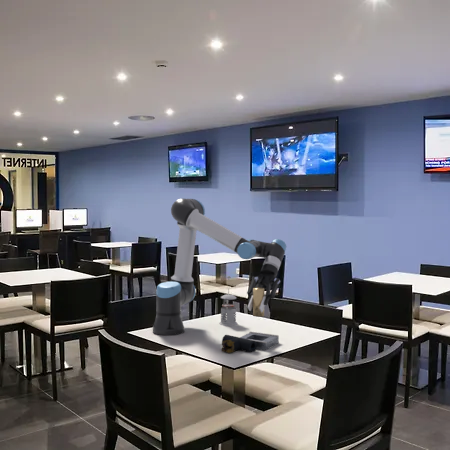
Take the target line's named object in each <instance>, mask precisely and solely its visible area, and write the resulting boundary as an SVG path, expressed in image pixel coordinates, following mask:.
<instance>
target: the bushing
mask: <svg viewBox="0 0 450 450" xmlns="http://www.w3.org/2000/svg"><path fill="white" fill-rule="evenodd" d="M264 296H265V287H261V288H255V287H254V288H253V306H252V316H253V317H256V318H257V317H258V318H261V317H265V309H264V310H263V312H261V311H260V309H259V308H260V305H261V302H262V300H263V297H264Z"/></svg>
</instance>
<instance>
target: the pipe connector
mask: <svg viewBox="0 0 450 450" xmlns="http://www.w3.org/2000/svg"><path fill="white" fill-rule="evenodd" d="M240 337H241V336H240ZM240 337H239V336H234V335H229V334H224V335H223V337H222V339H221V345H222V348H221V352H224V353H228V354H230V353H234V352H236V351H244V352H248V353H254V352H256V350H257V349H256V348H257V343H256V341H253V340H249V339H244V338H240Z"/></svg>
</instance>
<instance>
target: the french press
mask: <svg viewBox="0 0 450 450" xmlns="http://www.w3.org/2000/svg"><path fill="white" fill-rule="evenodd" d="M226 278H227V279H231V275H227V277H226ZM227 292H228V294H227V293H226V294H224V295H221V296H220V299H222V300H223V302H226V303H223V304H222V305H221V306H222V307H221V308H220V315H221V316H220V322H218V324H219V325H220V326H225V327H226V326H227V327H230V326H231V327H232V326H238V322H237V319H236V318H237V307H236V304H234V303H229V302H230V301H231V300H232V301H233V300H237V297H236V296H235V295H234V294H230V290H228V291H227Z"/></svg>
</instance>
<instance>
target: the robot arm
mask: <svg viewBox="0 0 450 450" xmlns="http://www.w3.org/2000/svg"><path fill="white" fill-rule="evenodd" d="M170 212H171V216H172V217H173V219H174V221H176V224H177V227H178V228H179V229H178V230H179V232H178V239H177V250H176V258H175V266H174V267H175V268H174V274H173V275H172V276H170V281H165V282H161V283H159V284H158V285H157V286H156V291H155V292H156V293H155V294H156V316H155V320H154V322H153V326H152V333H153V334H156V335H160V336H175V335H180V334H181V335H182V333H184V332H185V326H184V323H183V320H182V319H183V317H182V314H181V313H182V312H181V307H182V306H184V305H188V304H190V303H191V302H192V301H193V300H194V298H195V295H196V286H195V285H194V282H195V281H194V278H193V277H192V275H193V274H192V273H193V266H194V265H193V263H194V255H195V246H196V237H197V231H198V232H200V233H201V234H203V235H205V236H206V237H209V238H210V239H212V240H214V241H215V242H217V243H219V244H220V245H222V246H224V247H226V248H228V249H229V250H231V251H233V252H234V253H236V254H238V257H239V258H241V259H242V260H251V259H253V258H261V259H262V258H263V259H264V261H263V263H262V267H261V269H260V273H259V275H257V276H254V275H253V276H252V277H251V282H250V284H249V287H248V289H247V292H246V294H247V296H248V300H247V302H248V305H247V310H248V311H249V312H251V311H252V310H253V288H264V286H266V287H265V295H264V297H263V300H262V302H261V305H260V308H259V309H260V311H261V312H263V310H264V311H265V308H266V307H265V306H267V305H268V303H269V301H270V300H274V299H275V297H276V293H277V290H278V287H279V285H280V284H281V279H280V278H279V277H277V275H278V272H279V269H280V267H281V265H282V261H283V260H284V259H283V258H284V256H285V253H286V250H287V244H286V243H285V241H283V240H282V239H279V238H276V239H273V240H272V241H271V242H266V241H265V242H264V241H260V240H255V239H246V238H244V237H242V236H240V235H239V234H237V233H235V232H234V231H232V230H230V229H228V228H226V227H225V226H223V225H221V224H219V223H218V222H216V221H215V220H213V219H211V218H210V217H207V216H206V215H205V214H206V210H205V206H204V204H203V203H202V202H201V201H200V200H198V199H195V198H178V199H177V200H175V201H174V202H173V204H172V205H171V208H170ZM272 284H273V285H272Z"/></svg>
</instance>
